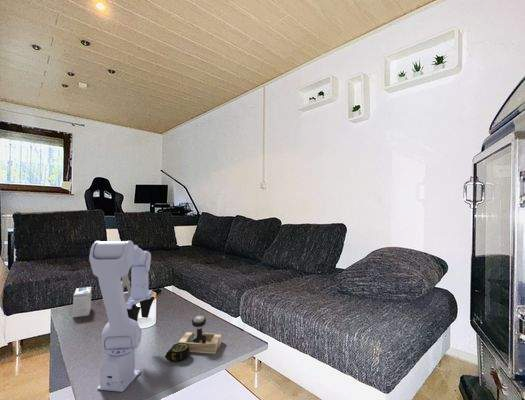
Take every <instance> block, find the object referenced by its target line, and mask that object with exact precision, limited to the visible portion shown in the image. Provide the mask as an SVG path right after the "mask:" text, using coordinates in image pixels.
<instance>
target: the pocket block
mask: <svg viewBox="0 0 525 400" xmlns="http://www.w3.org/2000/svg"><path fill="white" fill-rule="evenodd" d="M203 334H204V336H206V343H193V342H192V339H193V338H194V331H186V332H185V333H184V334H183V335H182V337H181V338H179V339H180V340H179V341H178V342H177V344H178V343H185V344H188V345H189V353H198V354H199V353H202V354H211V355H212V354H214V355H215V354H216V353H217V351H218V349H219V347H221V344H222V343H223V342H222V341H223V337H222V336H223V334H222V333H214V332H213V333H212V332H203Z"/></svg>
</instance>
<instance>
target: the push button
mask: <svg viewBox="0 0 525 400" xmlns="http://www.w3.org/2000/svg"><path fill="white" fill-rule="evenodd" d="M206 322H207V319H206V318H205V317H204V315H196V316H194V317H193V319H192V320H191V325H192V326H193V327H194V329H193V332H194V338H193V339H192V342H193V343H206V336H204V334H203V333H204V326H205V325H206Z"/></svg>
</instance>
